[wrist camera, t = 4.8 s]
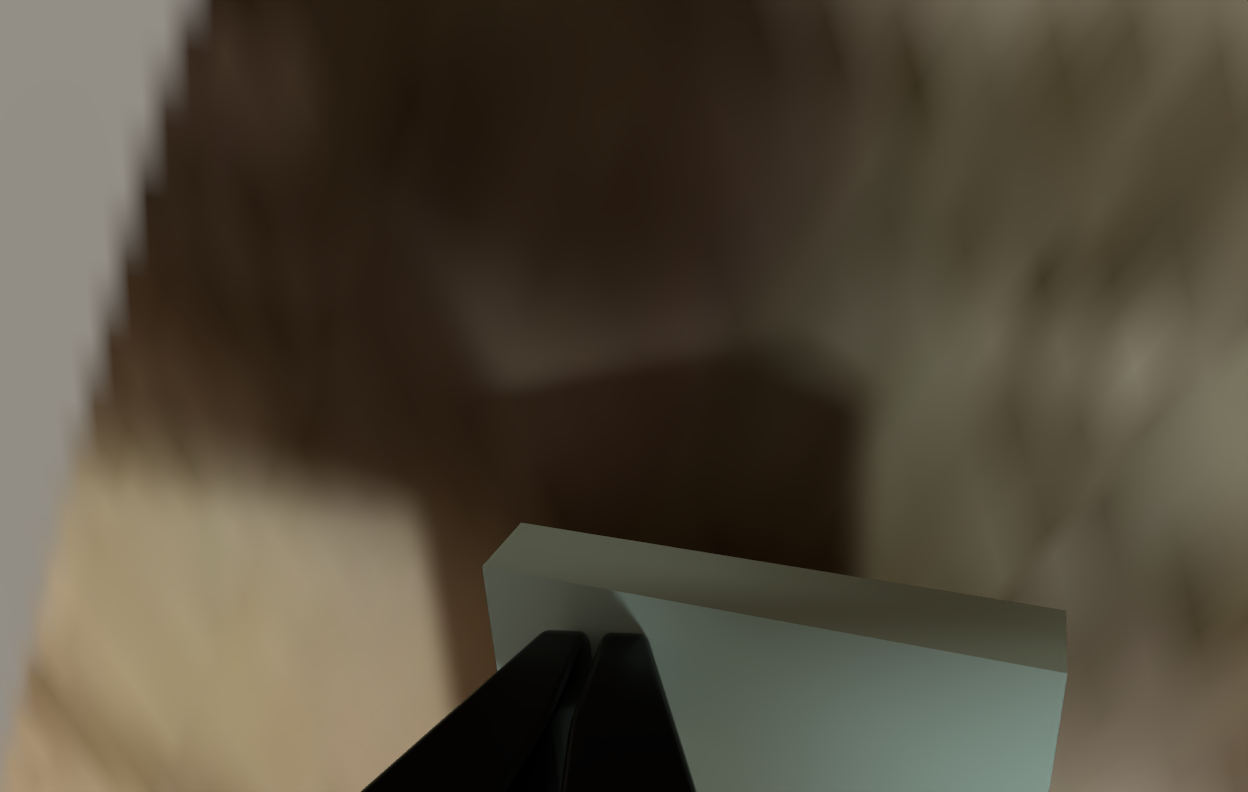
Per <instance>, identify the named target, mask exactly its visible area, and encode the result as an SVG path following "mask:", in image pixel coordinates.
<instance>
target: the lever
mask: <svg viewBox="0 0 1248 792" xmlns="http://www.w3.org/2000/svg"><path fill="white" fill-rule="evenodd" d="M482 570H483V577H484V584H485V591H486V598H487V604H488V611H489V618H490V625H491V632H492V639H493V645H494V652H495V659H496V666H497V671H498V670H499V669H500V668H501V667H503V666H504V665H505V664H506V663H507V662H508V661H509V660H510V659H512V658H513V657H514V656H515V655H516V654H517V653H518V652H520V651H521V650H522V649H523V648H524V647H525V646H526V645H527V644H529V643H530V642H531V641H532V640H533V639H534V638H535V637H537V636H538V635H539V634H540V633H542V632H543V631H546V630H568V631H582V632H584V633H585V634H586V635H587V636H588V638H589V641H590V645H591V655H592V662H593V659H594V656H595V654H596V651H597V648H598V646H599V643H600V641H601V639H602V637H603V635H605V634H607V633H610V632H614V633H638V634H644V635H645V636H647V638H648V639H649V642H650V645H651V648H652V652H653V655H654V658H655V661H656V664H657V667H658V670H659V674H660V677H661V680H662V683H663V686H664V689H665V693H666V696H667V699H668V702H669V705H670V708H671V712H672V715H673V718H674V721H675V724H676V727H677V731H678V734H679V737H680V740H681V743H682V746H683V750H684V753H685V756H686V759H687V762H688V765H689V769H690V772H691V775H692V778H693V781H694V784H695V788H696V791H697V792H1049V788H1050V782H1051V775H1052V769H1053V763H1054V756H1055V750H1056V743H1057V737H1058V730H1059V724H1060V718H1061V711H1062V705H1063V698H1064V692H1065V685H1066V679H1067V641H1066V611H1065V610H1059V609H1052V608H1046V607H1040V606H1034V605H1028V604H1022V603H1015V602H1009V601H1003V600H997V599H991V598H984V597H978V596H972V595H966V594H960V593H953V592H947V591H941V590H935V589H929V588H923V587H916V586H910V585H904V584H898V583H892V582H885V581H879V580H873V579H867V578H861V577H854V576H848V575H842V574H836V573H830V572H824V571H817V570H811V569H805V568H799V567H793V566H786V565H780V564H774V563H768V562H762V561H755V560H749V559H743V558H737V557H731V556H725V555H718V554H712V553H706V552H700V551H694V550H687V549H681V548H675V547H669V546H663V545H657V544H650V543H644V542H638V541H632V540H626V539H619V538H613V537H607V536H601V535H595V534H588V533H582V532H576V531H570V530H564V529H558V528H551V527H545V526H539V525H533V524H527V523H520V524H519V525H518V527H517V528H516V529H515V530H514V531H513V532H512V533H511V534H510V536H509V537H508V538H507V539H506V540H505V541H504V542H503V543H502V544H501V546H500V547H499V548H498V549H497V550H496V551H495V552H494V553H493V555H492V556H491V557H490V558H489V559H488V560H487V561H486V562H485V563H484V565H483V566H482Z"/></svg>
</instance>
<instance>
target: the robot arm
mask: <svg viewBox="0 0 1248 792" xmlns="http://www.w3.org/2000/svg"><path fill="white" fill-rule="evenodd" d="M361 792H697V791H696V788H695V784H694V781H693V778H692V775H691V772H690V769H689V765H688V762H687V759H686V756H685V753H684V750H683V746H682V743H681V740H680V737H679V734H678V731H677V727H676V724H675V721H674V718H673V715H672V712H671V708H670V705H669V702H668V699H667V696H666V693H665V689H664V686H663V683H662V680H661V677H660V674H659V670H658V667H657V664H656V661H655V658H654V655H653V652H652V648H651V645H650V642H649V639H648V638H647V636H645V635H644V634H638V633H614V632H610V633H607V634H605V635H603V637H602V639H601V641H600V643H599V646H598V648H597V651H596V654H595V656H594V659H593V662H592V655H591V645H590V641H589V638H588V636H587V635H586V634H585V633H584V632H582V631H568V630H546V631H543V632H542V633H540V634H539V635H538V636H537V637H535V638H534V639H533V640H532V641H531V642H530V643H529V644H527V645H526V646H525V647H524V648H523V649H522V650H521V651H520V652H518V653H517V654H516V655H515V656H514V657H513V658H512V659H510V660H509V661H508V662H507V663H506V664H505V665H504V666H503V667H501V668H500V669H499V670H498V671H497V672H496V673H495V674H493V675H492V676H491V677H490V678H489V679H488V680H487V681H486V682H484V683H483V684H482V685H481V686H480V687H479V688H478V689H476V690H475V691H474V692H473V693H472V694H471V695H470V696H469V697H467V698H466V699H465V700H464V701H463V702H462V703H461V704H459V705H458V706H457V707H456V708H455V709H454V710H453V711H452V712H450V713H449V714H448V715H447V716H446V717H445V718H444V719H442V720H441V721H440V722H439V723H438V724H437V725H436V726H435V727H433V728H432V729H431V730H430V731H429V732H428V733H427V734H425V735H424V736H423V737H422V738H421V739H420V740H419V741H418V742H416V743H415V744H414V745H413V746H412V747H411V748H410V749H408V750H407V751H406V752H405V753H404V754H403V755H402V756H401V757H399V758H398V759H397V760H396V761H395V762H394V763H393V764H391V765H390V766H389V767H388V768H387V769H386V770H385V771H384V772H382V773H381V774H380V775H379V776H378V777H377V778H376V779H375V780H373V781H372V782H371V783H370V784H369V785H368V786H367V787H365V788H364V789H363V790H362V791H361Z"/></svg>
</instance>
